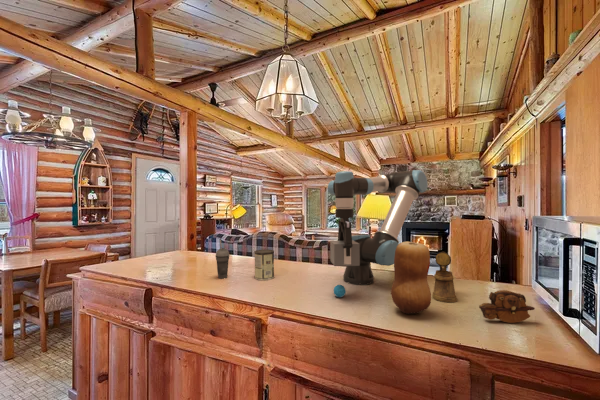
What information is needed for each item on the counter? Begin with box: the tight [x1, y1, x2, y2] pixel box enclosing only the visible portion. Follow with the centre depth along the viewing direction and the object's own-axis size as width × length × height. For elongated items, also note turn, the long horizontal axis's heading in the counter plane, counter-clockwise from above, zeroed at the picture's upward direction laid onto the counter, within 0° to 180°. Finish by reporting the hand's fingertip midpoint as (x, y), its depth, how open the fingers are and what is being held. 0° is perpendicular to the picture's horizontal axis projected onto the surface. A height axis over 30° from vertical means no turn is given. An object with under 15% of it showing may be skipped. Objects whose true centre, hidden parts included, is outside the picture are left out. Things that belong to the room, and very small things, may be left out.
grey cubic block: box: [329, 240, 360, 267], centre depth 119 cm, size 10×10×9 cm
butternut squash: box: [390, 240, 432, 315], centre depth 102 cm, size 14×13×25 cm
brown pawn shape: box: [431, 251, 458, 303], centre depth 118 cm, size 9×14×18 cm, turn 155°
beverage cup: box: [215, 239, 231, 280], centre depth 150 cm, size 7×7×20 cm
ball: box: [333, 284, 347, 298], centre depth 118 cm, size 5×5×5 cm
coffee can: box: [253, 249, 275, 281], centre depth 150 cm, size 10×10×14 cm
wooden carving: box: [478, 289, 536, 324], centre depth 93 cm, size 16×5×10 cm, turn 90°
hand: (344, 261), depth 119 cm, fingers closed on grey cubic block, 10 cm apart
